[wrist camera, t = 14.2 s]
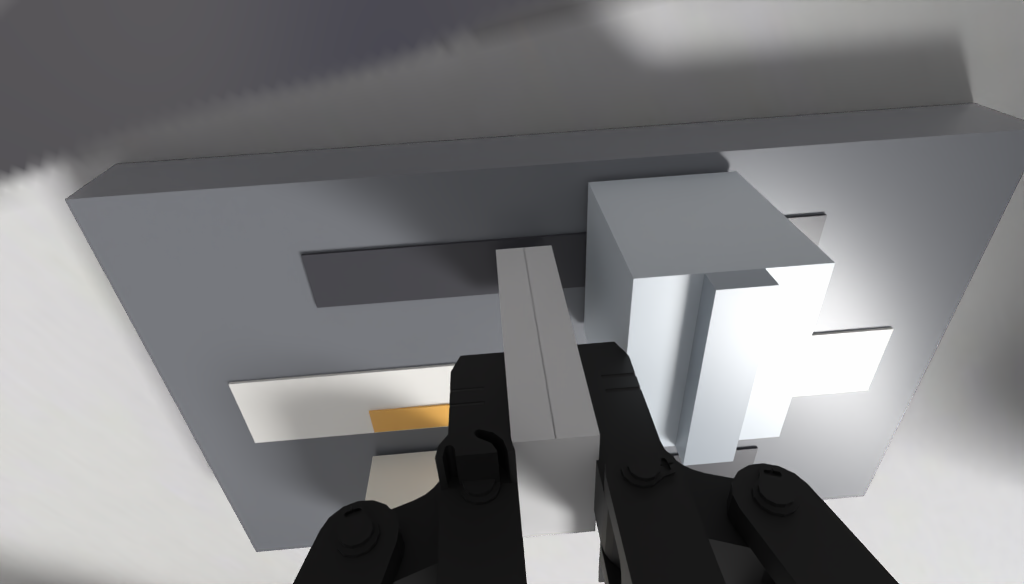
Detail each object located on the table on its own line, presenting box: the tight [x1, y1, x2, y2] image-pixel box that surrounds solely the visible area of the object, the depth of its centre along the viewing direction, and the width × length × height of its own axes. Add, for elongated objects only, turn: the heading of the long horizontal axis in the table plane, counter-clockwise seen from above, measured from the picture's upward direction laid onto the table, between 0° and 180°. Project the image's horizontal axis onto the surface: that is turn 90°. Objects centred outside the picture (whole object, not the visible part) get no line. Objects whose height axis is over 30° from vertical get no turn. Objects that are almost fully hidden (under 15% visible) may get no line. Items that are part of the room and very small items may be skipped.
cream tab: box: [365, 451, 439, 509], centre depth 19 cm, size 4×5×5 cm
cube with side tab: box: [584, 171, 835, 466], centre depth 14 cm, size 4×5×5 cm
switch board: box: [65, 103, 1024, 552], centre depth 20 cm, size 26×16×3 cm, turn 93°
